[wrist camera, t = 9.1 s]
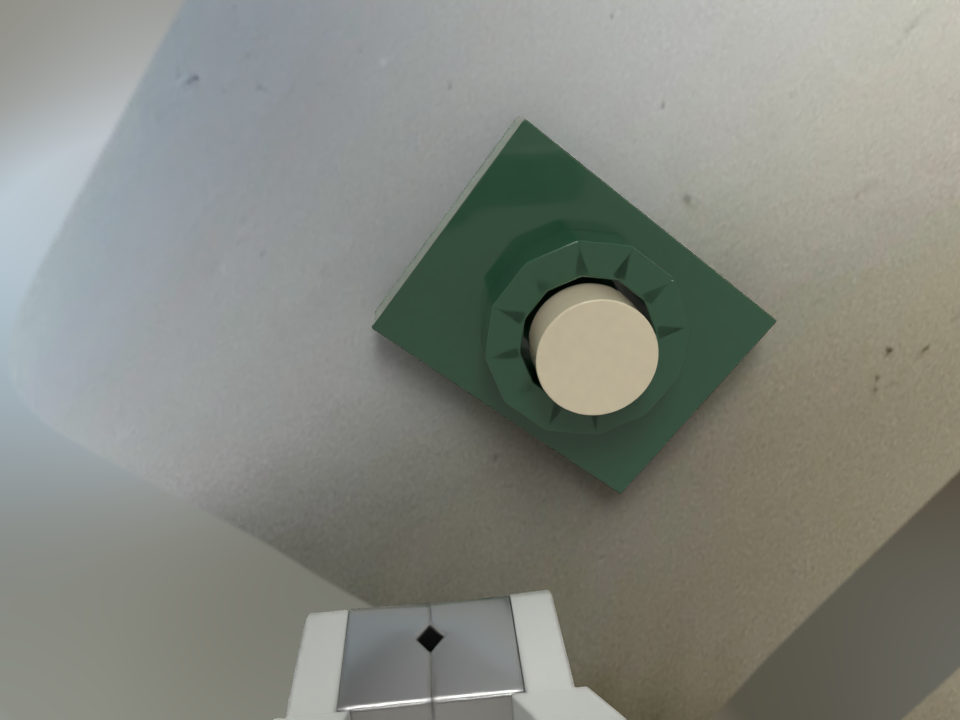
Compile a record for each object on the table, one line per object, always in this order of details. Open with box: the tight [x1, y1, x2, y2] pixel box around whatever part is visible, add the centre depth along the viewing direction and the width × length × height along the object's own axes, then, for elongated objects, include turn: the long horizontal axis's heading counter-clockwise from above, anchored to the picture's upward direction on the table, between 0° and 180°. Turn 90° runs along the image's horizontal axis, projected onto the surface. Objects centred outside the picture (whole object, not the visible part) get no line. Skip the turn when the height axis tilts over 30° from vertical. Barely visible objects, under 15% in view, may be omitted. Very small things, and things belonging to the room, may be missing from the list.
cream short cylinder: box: [528, 283, 659, 415], centre depth 25 cm, size 4×4×2 cm
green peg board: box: [372, 116, 776, 494], centre depth 28 cm, size 12×9×4 cm
